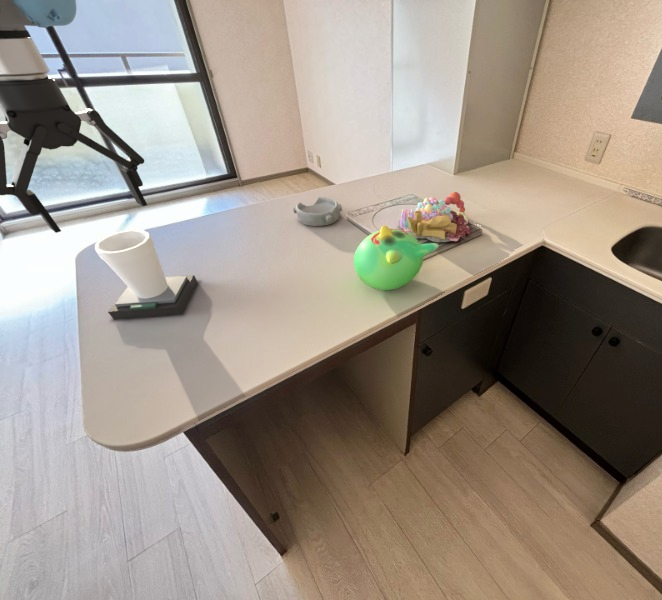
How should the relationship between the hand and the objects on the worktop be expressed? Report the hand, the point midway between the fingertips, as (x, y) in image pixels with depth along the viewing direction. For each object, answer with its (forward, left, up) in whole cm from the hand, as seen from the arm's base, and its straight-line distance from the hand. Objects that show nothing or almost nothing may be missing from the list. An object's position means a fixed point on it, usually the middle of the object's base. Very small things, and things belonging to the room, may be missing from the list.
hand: (102, 216), depth 60 cm
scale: (-2, +4, -23) cm, 24 cm away
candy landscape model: (+73, +33, -24) cm, 84 cm away
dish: (+35, +42, -24) cm, 60 cm away
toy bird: (+54, +4, -24) cm, 59 cm away
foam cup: (-2, +4, -20) cm, 21 cm away
